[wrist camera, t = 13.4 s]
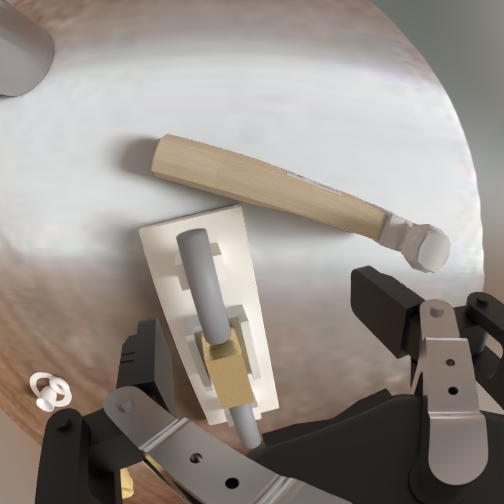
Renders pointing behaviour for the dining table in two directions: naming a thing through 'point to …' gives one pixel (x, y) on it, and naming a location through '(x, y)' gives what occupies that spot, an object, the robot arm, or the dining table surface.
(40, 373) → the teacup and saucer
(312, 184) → the hammer
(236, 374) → the gold rectangular block
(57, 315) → the dining table surface
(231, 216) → the shaft rig
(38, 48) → the robot arm
